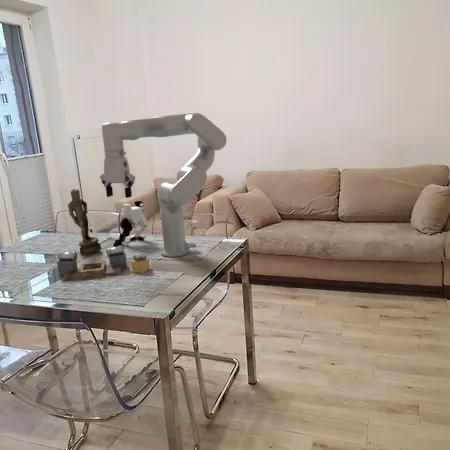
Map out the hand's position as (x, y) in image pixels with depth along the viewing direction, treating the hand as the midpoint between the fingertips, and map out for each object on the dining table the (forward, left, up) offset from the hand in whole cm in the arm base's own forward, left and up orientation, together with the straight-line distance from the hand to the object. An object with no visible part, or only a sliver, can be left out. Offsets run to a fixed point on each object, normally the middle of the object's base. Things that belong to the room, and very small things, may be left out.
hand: (119, 196), depth 191 cm
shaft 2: (+4, +5, -29) cm, 29 cm away
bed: (+13, +8, -29) cm, 32 cm away
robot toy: (-2, -32, -29) cm, 43 cm away
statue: (+17, -22, -29) cm, 40 cm away
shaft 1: (+23, +5, -29) cm, 37 cm away
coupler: (-6, +11, -29) cm, 31 cm away
